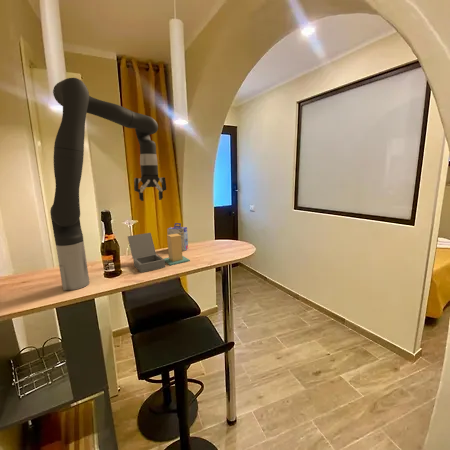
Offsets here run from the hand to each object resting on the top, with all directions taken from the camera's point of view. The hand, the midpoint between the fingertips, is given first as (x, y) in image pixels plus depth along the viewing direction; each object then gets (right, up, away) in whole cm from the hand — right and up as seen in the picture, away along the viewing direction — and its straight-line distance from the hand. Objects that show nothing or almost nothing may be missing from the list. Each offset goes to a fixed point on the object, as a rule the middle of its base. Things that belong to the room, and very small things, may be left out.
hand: (151, 200), depth 127 cm
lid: (-5, -21, +3) cm, 22 cm away
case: (0, -30, -2) cm, 30 cm away
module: (+10, -28, +5) cm, 30 cm away
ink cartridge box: (+9, -25, +24) cm, 36 cm away
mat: (+10, -29, +5) cm, 31 cm away
